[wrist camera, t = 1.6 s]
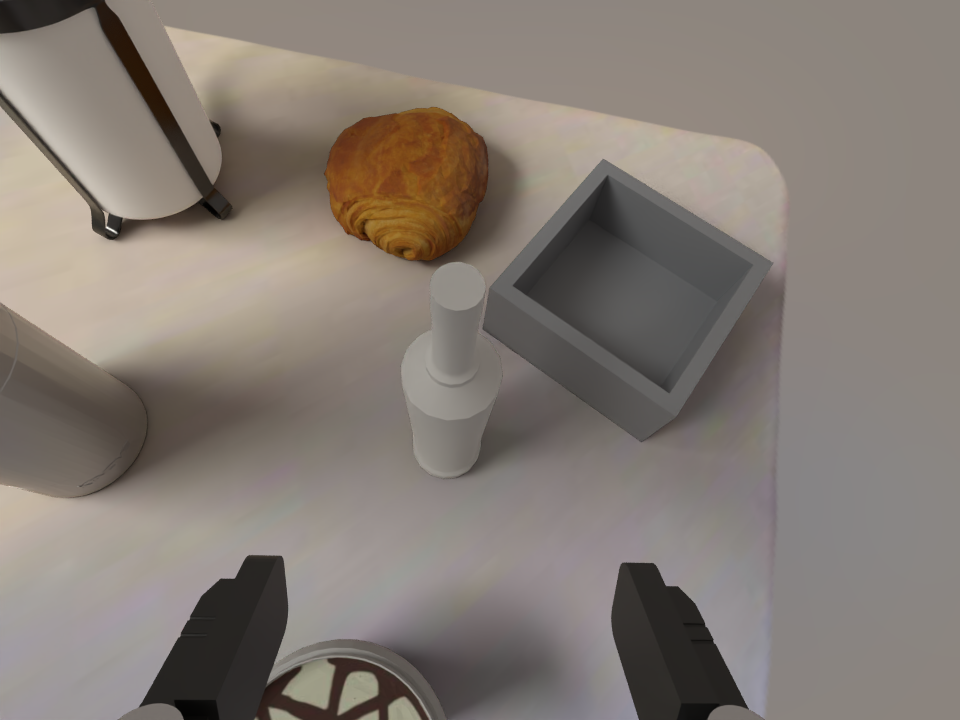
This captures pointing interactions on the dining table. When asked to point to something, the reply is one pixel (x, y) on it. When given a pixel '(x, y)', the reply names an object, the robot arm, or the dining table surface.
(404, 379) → the bottle
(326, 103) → the dining table surface
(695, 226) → the charcoal tub
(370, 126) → the croissant
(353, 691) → the food container
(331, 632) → the dining table surface
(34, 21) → the coffee press
